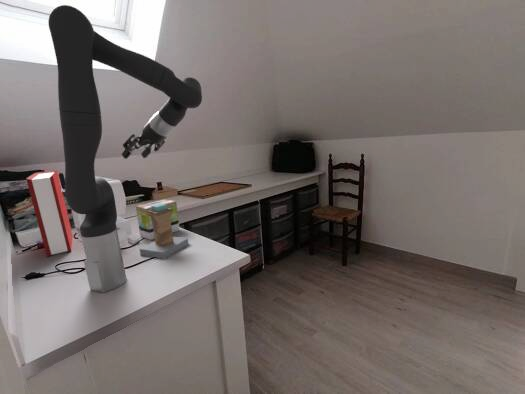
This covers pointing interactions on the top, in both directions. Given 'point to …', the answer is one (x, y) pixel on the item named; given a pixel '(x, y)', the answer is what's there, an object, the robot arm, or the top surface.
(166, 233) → the wooden pedestal column
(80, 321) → the top surface
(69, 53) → the robot arm
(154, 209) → the teal block
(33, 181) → the book
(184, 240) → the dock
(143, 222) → the tea box
